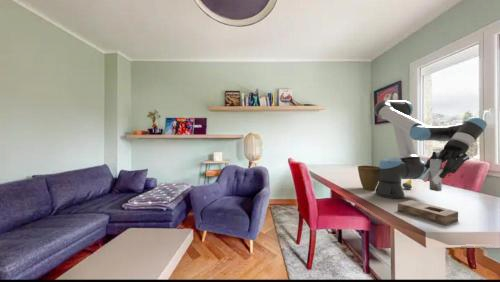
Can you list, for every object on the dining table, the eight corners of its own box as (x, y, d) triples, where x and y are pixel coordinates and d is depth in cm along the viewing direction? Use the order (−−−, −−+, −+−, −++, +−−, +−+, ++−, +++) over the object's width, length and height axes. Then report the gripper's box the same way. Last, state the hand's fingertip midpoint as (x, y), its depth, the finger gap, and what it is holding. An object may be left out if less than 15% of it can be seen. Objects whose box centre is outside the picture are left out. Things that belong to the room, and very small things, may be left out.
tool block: (397, 210, 99) (397, 203, 99) (410, 207, 104) (411, 200, 104) (444, 225, 83) (445, 216, 83) (458, 220, 88) (458, 211, 88)
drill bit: (399, 188, 145) (405, 178, 148) (408, 192, 142) (413, 182, 145) (402, 185, 141) (408, 175, 144) (410, 190, 138) (416, 179, 141)
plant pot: (352, 187, 146) (352, 165, 145) (367, 186, 151) (367, 165, 150) (370, 192, 132) (371, 168, 131) (386, 191, 137) (387, 168, 136)
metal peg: (427, 189, 91) (428, 159, 91) (432, 188, 93) (432, 158, 93) (438, 191, 88) (439, 160, 87) (443, 190, 89) (443, 159, 89)
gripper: (487, 151, 84) (455, 191, 82) (442, 149, 101) (414, 182, 98) (478, 139, 83) (445, 179, 81) (434, 138, 100) (405, 172, 97)
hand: (428, 181), depth 90 cm, fingers closed on metal peg, 4 cm apart
